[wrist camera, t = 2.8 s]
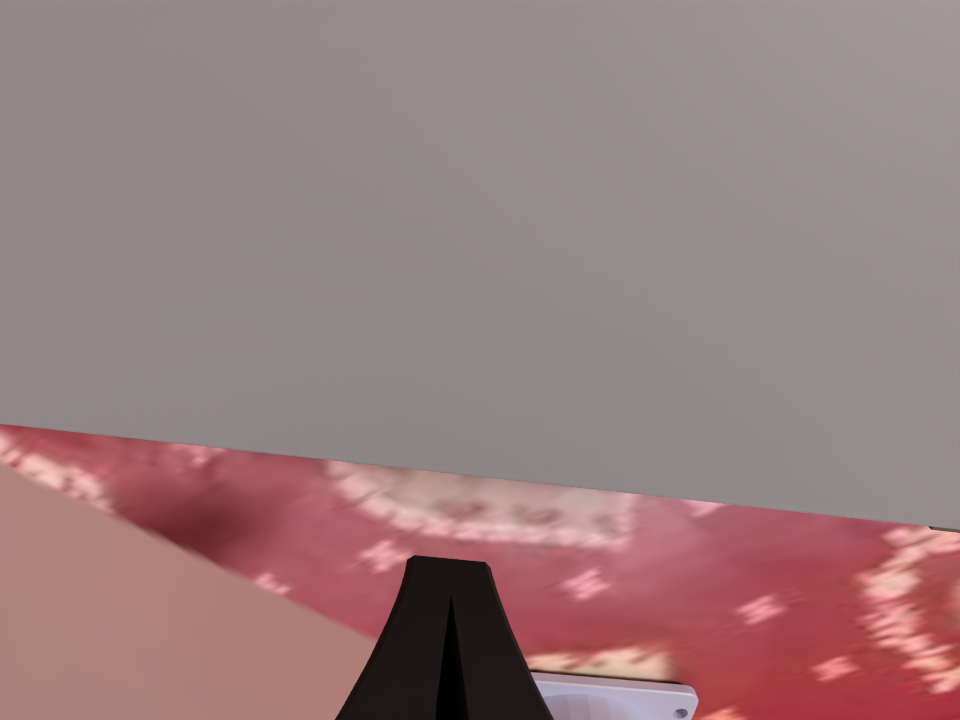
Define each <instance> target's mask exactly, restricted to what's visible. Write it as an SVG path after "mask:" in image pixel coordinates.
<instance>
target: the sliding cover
mask: <svg viewBox="0 0 960 720" xmlns="http://www.w3.org/2000/svg"><path fill="white" fill-rule="evenodd" d="M0 424H8V425H17V426H26V427H35V428H44V429H53V430H63V431H72V432H81V433H90V434H99V435H108V436H117V437H126V438H135V439H144V440H153V441H162V442H171V443H180V444H189V445H198V446H207V447H217V448H226V449H235V450H244V451H253V452H262V453H271V454H280V455H289V456H298V457H307V458H316V459H325V460H334V461H343V462H352V463H361V464H371V465H380V466H389V467H398V468H407V469H416V470H425V471H434V472H443V473H452V474H461V475H470V476H479V477H488V478H497V479H506V480H515V481H525V482H534V483H543V484H552V485H561V486H570V487H579V488H588V489H597V490H606V491H615V492H624V493H633V494H642V495H651V496H660V497H669V498H679V499H688V500H697V501H706V502H715V503H724V504H733V505H742V506H751V507H760V508H769V509H778V510H787V511H796V512H805V513H814V514H823V515H833V516H842V517H851V518H860V519H869V520H878V521H887V522H896V523H905V524H914V525H923V526H932V527H941V528H950V529H959V530H960V0H0Z"/></svg>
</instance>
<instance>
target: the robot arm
mask: <svg viewBox="0 0 960 720" xmlns="http://www.w3.org/2000/svg"><path fill="white" fill-rule="evenodd" d="M697 705H698V698H697V695H696V692H695V690H694V689H693V688H692V687H690V686H687V685H680V684H668V683H656V682H644V681H632V680H620V679H608V678H596V677H584V676H573V675H561V674H549V673H537V672H530V670H529V668H528V666H527V663H526V661H525V659H524V657H523V655H522V653H521V650H520V648H519V646H518V644H517V641H516V639H515V636H514V634H513V632H512V629H511V627H510V624H509V622H508V619H507V616H506V614H505V611H504V609H503V606H502V603H501V600H500V598H499V595H498V592H497V589H496V585H495V582H494V579H493V576H492V572H491V568H490V567H489V566H488V565H487V563H486V562H478V561H468V560H458V559H447V558H437V557H427V556H417V555H414V556H413V557H411V558H409V559H408V560H407V563H406V569H405V574H404V577H403V581H402V584H401V587H400V590H399V593H398V596H397V598H396V601H395V603H394V606H393V608H392V611H391V613H390V616H389V618H388V620H387V623H386V625H385V627H384V629H383V631H382V633H381V635H380V637H379V639H378V642H377V644H376V646H375V648H374V650H373V652H372V654H371V656H370V658H369V660H368V662H367V664H366V666H365V668H364V669H363V671H362V673H361V675H360V677H359V679H358V680H357V682H356V684H355V686H354V687H353V689H352V691H351V693H350V695H349V696H348V698H347V700H346V702H345V704H344V705H343V707H342V709H341V710H340V712H339V714H338V715H337V717H336V719H335V720H691V719H692V716H693V714H694V712H695V709H696V707H697Z"/></svg>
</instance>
